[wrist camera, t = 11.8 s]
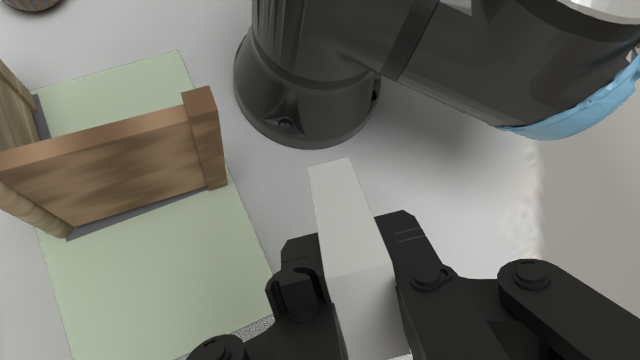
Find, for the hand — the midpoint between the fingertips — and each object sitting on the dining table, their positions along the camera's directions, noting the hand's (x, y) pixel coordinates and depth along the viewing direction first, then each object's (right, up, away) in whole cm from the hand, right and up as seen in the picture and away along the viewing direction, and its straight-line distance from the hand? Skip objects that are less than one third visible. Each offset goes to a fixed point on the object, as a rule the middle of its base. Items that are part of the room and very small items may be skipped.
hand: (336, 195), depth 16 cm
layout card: (-17, -1, +24) cm, 30 cm away
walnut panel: (-16, -1, +24) cm, 28 cm away
